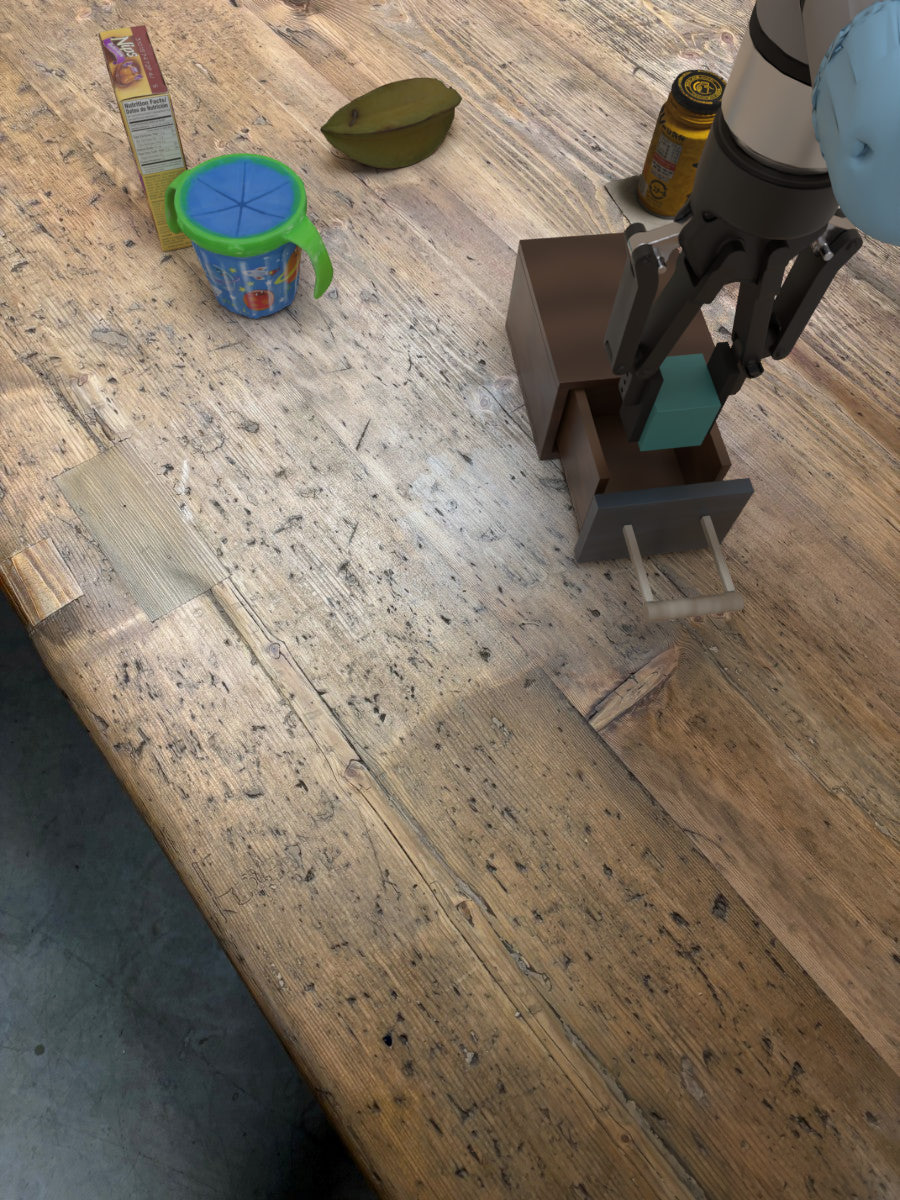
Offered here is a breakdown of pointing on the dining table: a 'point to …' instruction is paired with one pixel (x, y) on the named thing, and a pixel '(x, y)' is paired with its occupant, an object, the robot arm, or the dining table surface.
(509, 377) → the dining table surface
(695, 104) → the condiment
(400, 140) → the fruit
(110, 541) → the dining table surface
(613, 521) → the drawer
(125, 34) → the candy box
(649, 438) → the block
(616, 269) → the cabinet
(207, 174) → the snack cup
